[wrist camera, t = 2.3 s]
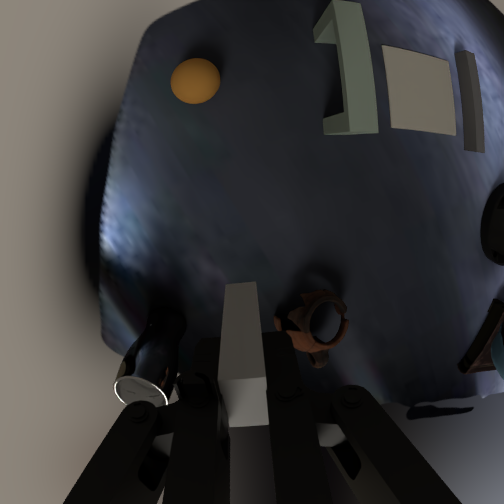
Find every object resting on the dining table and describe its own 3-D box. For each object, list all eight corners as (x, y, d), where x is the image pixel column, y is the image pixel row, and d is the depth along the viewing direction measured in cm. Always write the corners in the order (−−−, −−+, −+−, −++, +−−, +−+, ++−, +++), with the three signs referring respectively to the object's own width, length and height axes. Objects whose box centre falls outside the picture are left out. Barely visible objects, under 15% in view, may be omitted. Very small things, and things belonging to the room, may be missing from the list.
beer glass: (198, 332, 42) (182, 408, 28) (163, 346, 43) (138, 418, 29) (172, 296, 40) (142, 368, 26) (136, 314, 41) (100, 382, 27)
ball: (220, 62, 29) (216, 48, 24) (223, 103, 31) (219, 95, 26) (175, 69, 29) (164, 57, 24) (178, 109, 31) (166, 103, 26)
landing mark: (447, 61, 27) (448, 61, 27) (455, 135, 32) (456, 135, 31) (381, 45, 27) (382, 45, 27) (390, 127, 32) (391, 127, 32)
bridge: (335, 31, 27) (360, 3, 18) (346, 134, 32) (378, 132, 24) (312, 29, 27) (332, -1, 18) (323, 134, 32) (349, 131, 24)
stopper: (462, 56, 27) (474, 53, 24) (472, 151, 32) (484, 153, 30) (454, 53, 27) (465, 50, 24) (464, 150, 32) (476, 151, 30)
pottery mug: (260, 300, 41) (288, 308, 33) (312, 275, 44) (346, 277, 36) (285, 369, 42) (315, 387, 34) (332, 341, 45) (365, 352, 38)
